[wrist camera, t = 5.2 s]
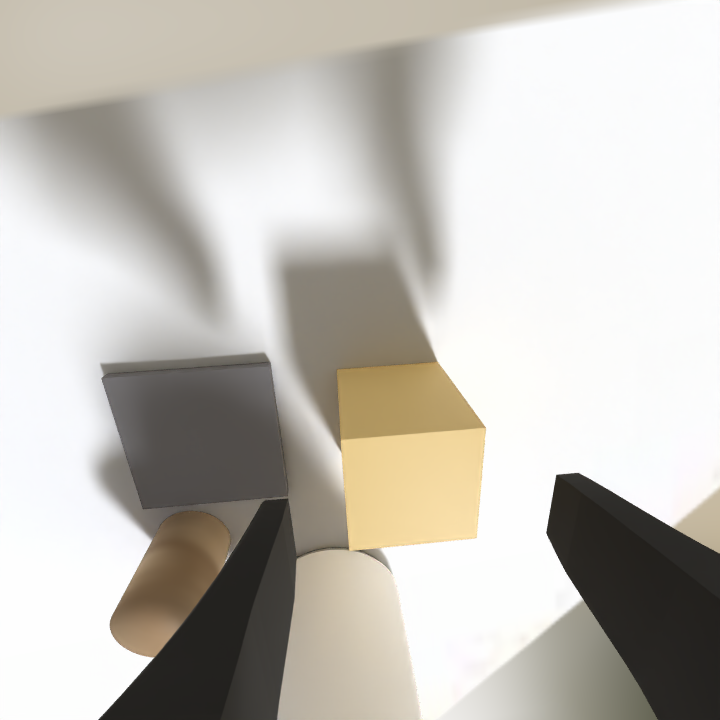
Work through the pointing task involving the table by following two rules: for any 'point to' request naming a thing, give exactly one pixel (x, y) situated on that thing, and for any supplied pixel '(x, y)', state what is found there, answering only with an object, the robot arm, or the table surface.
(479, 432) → the ochre block
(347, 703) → the can
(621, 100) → the table surface
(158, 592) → the cork cylinder
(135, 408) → the coaster
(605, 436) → the table surface
